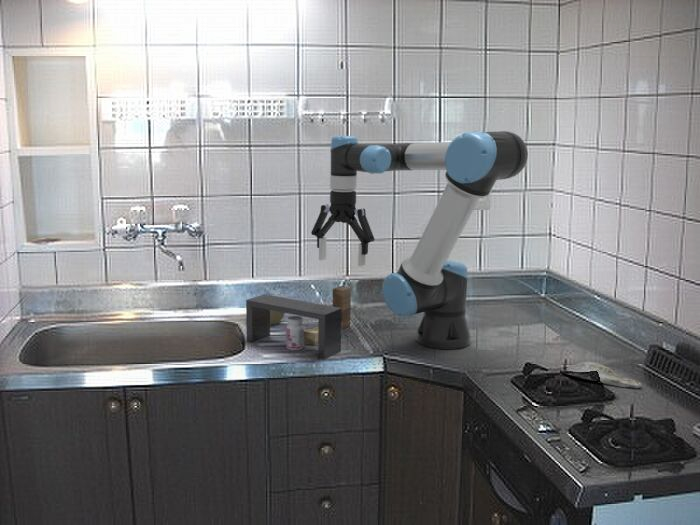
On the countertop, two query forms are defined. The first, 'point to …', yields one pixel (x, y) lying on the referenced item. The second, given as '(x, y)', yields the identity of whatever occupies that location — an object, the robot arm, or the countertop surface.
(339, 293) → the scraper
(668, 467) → the countertop surface
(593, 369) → the stone
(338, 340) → the riser shelf
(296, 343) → the pill bottle
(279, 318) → the flower pot
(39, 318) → the countertop surface
